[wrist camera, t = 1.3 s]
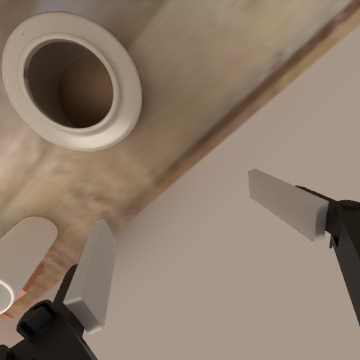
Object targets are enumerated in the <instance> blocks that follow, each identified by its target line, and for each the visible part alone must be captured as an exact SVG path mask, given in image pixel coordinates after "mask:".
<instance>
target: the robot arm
mask: <svg viewBox="0 0 360 360" xmlns="http://www.w3.org/2000/svg"><path fill="white" fill-rule="evenodd" d="M248 176H249V188H250V197H251V198H252V199H254V200H255V201H257V202H258V203H259V204H261V205H262V206H264V207H265V208H266V209H268V210H269V211H271V212H272V213H273V214H275V215H276V216H278V217H279V218H280V219H282V220H283V221H285V222H286V223H287V224H289V225H290V226H291V227H293V228H294V229H296V230H297V231H298V232H300V233H301V234H303V235H304V236H305V237H307V238H308V239H310V240H311V241H312V242H317V241H319V240H322V239H324V237H325V231H327V232H329V233H330V234H331V239H330V248H332V246H333V247H334V250H335V253H336V256H337V259H338V262H339V265H340V268H341V271H342V274H343V277H344V280H345V283H346V286H347V289H348V292H349V295H350V298H351V301H352V304H353V307H354V310H355V313H356V316H357V319H358V322H359V325H360V203H359V202H356V201H351V200H341V201H335V200H333V199H331V198H328V197H326V196H324V195H321V194H319V193H317V192H314V191H311V190H309V189H307V188H305V187H301V186H293V185H291V184H288V183H286V182H284V181H281V180H279V179H277V178H275V177H273V176H270V175H268V174H266V173H264V172H261V171H259V170H257V169H253V170H250V171H248ZM116 247H117V243H116V241H115V239H114V237H113V235H112V233H111V231H110V229H109V227H108V225H107V223H106V221H105V219H103V220H100V221H97V222H95V223H94V226H93V228H92V231H91V233H90V236H89V238H88V241H87V243H86V246H85V248H84V251H83V253H82V256H81V258H80V261H79V263H78V264H76V265H73V266H72V267H71V268H70V269H69V270H68V272H67V273H66V275H65V277H64V279H63V283H61V286H60V289H59V290H58V292H57V295H56V297H55V299H54V301H53V303H52V302H51V301H50V300H43V301H41V302H38V303H37V304H35V305H34V306H32V307H31V308H30V309H29V310H28V311H27V312H26V313H25V314H24V315H23V317H22V318H21V319H20V321H19V323H18V325H17V332H18V333H19V334H20V335H22V336H23V337H24V338H25V339H24V340H22V341H20V342H19V343H17V344H16V345H15V346H13V347H11V348H10V349H9V348H8V347H7V346H5V345H0V360H97V358H96V357H95V355H94V354H93V352H92V351H91V349H90V348H89V346H88V345H87V343H86V342H85V341H84V339H83V338H82V335H83V332H84V329H85V330H86V331H87V333H88V334H92V333H95V332H97V331H99V330H102V329H104V324H105V317H106V311H107V305H108V298H109V292H110V286H111V279H112V273H113V267H114V260H115V254H116Z"/></svg>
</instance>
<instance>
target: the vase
mask: <svg viewBox="0 0 360 360" xmlns="http://www.w3.org/2000/svg"><path fill="white" fill-rule="evenodd" d="M1 71H2V79H3V84H4V88H5V91H6V93H7V96H8V98H9V100H10V102H11V104H12V106H13V108H14V109H15V111H16V112H17V114H18V115H19V116H20V118H21V119H22V120H23V121H24V122H25V124H26V125H27V126H28V127H29V128H30V129H32V130H33V131H34V132H35V133H36V134H38V135H39V136H40V137H42V138H43V139H45V140H47V141H48V142H50V143H52V144H54V145H57V146H59V147H62V148H64V149H68V150H72V151H77V152H97V151H102V150H105V149H108V148H111V147H113V146H115V145H117V144H119V143H120V142H121V141H123V140H124V139H125V138H126V137H127V136H128V135H129V134H130V133H131V132H132V130H133V129H134V127H135V126H136V124H137V122H138V119H139V116H140V113H141V108H142V87H141V82H140V78H139V75H138V72H137V69H136V67H135V65H134V62H133V61H132V59H131V57H130V55H129V54H128V52H127V51H126V49H125V48H124V47H123V46H122V44H121V43H120V42H119V41H118V40H117V39H116V38H115V37H114V36H113V35H112V34H111V33H110V32H108V31H107V30H106V29H105V28H103V27H102V26H100V25H99V24H97V23H95V22H93V21H92V20H90V19H87V18H85V17H83V16H80V15H77V14H73V13H68V12H45V13H40V14H37V15H34V16H32V17H30V18H28V19H26V20H25V21H23V22H22V23H20V24H19V25H18V26H17V27H16V28H15V29H14V31H13V32H12V33H11V35H10V36H9V38H8V40H7V42H6V44H5V47H4V50H3V54H2V62H1Z"/></svg>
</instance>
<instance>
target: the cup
mask: <svg viewBox="0 0 360 360" xmlns="http://www.w3.org/2000/svg"><path fill="white" fill-rule="evenodd" d="M57 236H58V230H57V227H56V225H55V224H54V223H53V222H52V221H50V220H48V219H46V218H43V217H39V216H32V217H27V218H24V219H23V220H21V221H20V222H19V223H17V224H16V225H15V226H14V227H13V228H12V229H11V230H10V231H8V232H7V233H6V234H5V235H4V236H3V237H2V238H0V314H1V313H3V312H5V311H6V310H7V309H8V308H9V307H10V306H11V305H12V303H13V302H14V300H15V299H16V298H17V296H18V295H19V293H20V292H21V290H22V289H23V287H24V286H25V284H26V283H27V281H28V280H29V278H30V277H31V275H32V274H33V272H34V271H35V269H36V268H37V266H38V265H39V263H40V262H41V260H42V259H43V258H44V256H45V255H46V253H47V252H48V250H49V249H50V247H51V246H52V244H53V243H54V241H55V240H56V238H57Z"/></svg>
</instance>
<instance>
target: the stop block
mask: <svg viewBox="0 0 360 360" xmlns="http://www.w3.org/2000/svg"><path fill="white" fill-rule="evenodd" d="M42 268H43V265H41V264H39V265H38V266H37V268H36V269H35V271H34V272H33V274H32V275H31V277H30V278H29V280H28V281H27V283H26V284H25V286H24V287H23V289H22V290H21V292H20V293H19V295H18V296H17V298H16V299H15V300H14V302H15V301H16V300H17V299H19V298H20V297H21V296H23V295H24V294H25V293H26V292H27V291H28V290H29V288H30V286H31V285H32V283H33V282H34V280H35V279H36V277H37V275H38V274H39V272H40V271H41V269H42Z"/></svg>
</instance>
